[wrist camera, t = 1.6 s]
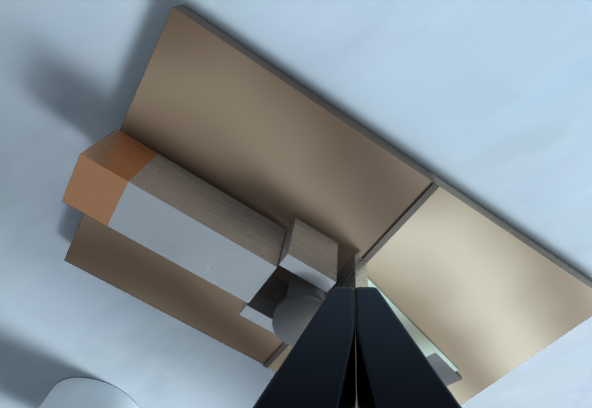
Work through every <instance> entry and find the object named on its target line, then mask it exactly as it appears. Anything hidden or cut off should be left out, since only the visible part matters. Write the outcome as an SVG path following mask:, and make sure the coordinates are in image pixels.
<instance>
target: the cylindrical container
mask: <svg viewBox="0 0 592 408" xmlns="http://www.w3.org/2000/svg"><path fill="white" fill-rule="evenodd" d="M39 408H139V407H138V406H137V404H136V403H135V402H134V401H133V400H132V399H131V398H130V397H129V396H128V395H127V394H125V393H124V392H123V391H121V390H119V389H118V388H116V387H114V386H112V385H110V384H108V383H105V382H102V381H99V380H94V379H90V378H69V379H65V380H62V381H61V382H59V383H57V384H56V385H55V386H54V387H53V388H52V390H51V391H50V393H49V394H48V395H47V397H46V398H45V400H44V401H43V402H42V404H41V405H40V407H39Z"/></svg>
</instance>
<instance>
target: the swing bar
mask: <svg viewBox="0 0 592 408" xmlns="http://www.w3.org/2000/svg"><path fill="white" fill-rule="evenodd" d="M62 201H63V202H65V203H66V204H68V205H70V206H72V207H74V208H75V209H77V210H79V211H81V212H83V213H85V214H86V215H88V216H90V217H92V218H94V219H96V220H97V221H99V222H101V223H103V224H105V225H106V226H108V227H110V228H112V229H114V230H116V231H117V232H119V233H121V234H123V235H125V236H127V237H128V238H130V239H132V240H134V241H136V242H137V243H139V244H141V245H143V246H145V247H147V248H148V249H150V250H152V251H154V252H156V253H157V254H159V255H161V256H163V257H165V258H167V259H168V260H170V261H172V262H174V263H176V264H178V265H179V266H181V267H183V268H185V269H187V270H188V271H190V272H192V273H194V274H196V275H198V276H199V277H201V278H203V279H205V280H207V281H209V282H210V283H212V284H214V285H216V286H218V287H219V288H221V289H223V290H225V291H227V292H229V293H230V294H232V295H234V296H236V297H238V298H239V299H241V300H243V305H242V308H241V311H240V314H239V315H241V316H243V317H245V318H246V319H248V320H250V321H252V322H254V323H256V324H258V325H259V326H261V327H263V328H265V329H267V330H269V331H271V332H272V333H274V334H275V332H274V330H273V327H272V320H273V315H274V311H275V308H276V306H277V305H278V304H279V303H280V302H281V301H282V300H283V299H285V298H286V297H287V292H288V287H289V283H288V282H287V281H285V280H283V279H281V278H280V277H278V276H276V275H274V274H273V272H274V271H275V269H276V268H277V266H278V262H279V258H280V254H281V249H282V245H283V241H284V237H285V233H286V230H285V229H284V228H282V227H280V226H279V225H277V224H275V223H274V222H272V221H270V220H269V219H267V218H265V217H264V216H262V215H260V214H259V213H257V212H255V211H254V210H252V209H250V208H249V207H247V206H245V205H244V204H242V203H240V202H238V201H237V200H235V199H233V198H232V197H230V196H228V195H227V194H225V193H223V192H222V191H220V190H218V189H217V188H215V187H213V186H212V185H210V184H208V183H207V182H205V181H203V180H202V179H200V178H198V177H197V176H195V175H193V174H192V173H190V172H188V171H187V170H185V169H183V168H182V167H180V166H178V165H177V164H175V163H173V162H171V161H170V160H168V159H166V158H165V157H163V156H161V155H160V154H158V153H156V152H155V151H153V150H151V149H150V148H148V147H146V146H145V145H143V144H141V143H140V142H138V141H136V140H135V139H133V138H131V137H130V136H128V135H126V134H125V133H123V132H121V131H120V130H118V129H117V130H115V131H114V132H112V133H111V134H109V135H108V136H106V137H105V138H103V139H102V140H100V141H99V142H97V143H96V144H94V145H93V146H91V147H90V148H88V149H87V150H85V151H84V152H82V153H81V154H80V156H79V159H78V161H77V164H76V166H75V169H74V171H73V174H72V177H71V179H70V182H69V184H68V187H67V190H66V192H65V195H64V197H63V200H62ZM337 252H338V243H337V242H335V241H333V240H332V239H330V238H329V237H327V236H325V235H324V234H322V233H320V232H319V231H317V230H315V229H314V228H312V227H310V226H309V225H307V224H305V223H304V222H302V221H300V220H299V219H297V218H295V219H294V221H293V222H292V223H291V224H290V226H289V227H288V229H287V234H286V238H285V242H284V246H283V250H282V255H281V259H280V263H279V265H280V266H282V267H283V268H285V269H287V270H289V271H290V272H292V273H294V274H296V275H297V276H299V277H301V278H302V279H304V280H306V281H308V282H309V283H311V284H313V285H315V286H316V287H318V288H320V289H322V290H323V291H325V292H327V295H328V293H329V292H330V290H331V289H332V288H333V287H352V288H354V291H355V289H356V288H357V287H368V275H367V261H366V260H365V259H363V258H362V257H360V256H358V255H357V254H354V255H353V256H352V257H351V258H350V259H349V260H348V262H347V263H346V264H345V265H344V266H343V267H342V268H341V269H340V270H339V271H338V272H337Z"/></svg>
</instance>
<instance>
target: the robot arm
mask: <svg viewBox="0 0 592 408" xmlns="http://www.w3.org/2000/svg"><path fill="white" fill-rule="evenodd" d="M355 335H356V341H355ZM356 387H357V408H462V407H461V406H460V404H459V403H458V402H457V400H456V399H455V397H454V396H453V395H452V393H451V392H450V390H449V389H448V388H447V386H446V385H445V383H444V382H443V380H442V379H441V378H440V376H439V375H438V373H437V372H436V371H435V369H434V368H433V366H432V365H431V363H430V362H429V361H428V359H427V358H426V356H425V355H424V354H423V352H422V351H421V349H420V348H419V346H418V345H417V344H416V342H415V341H414V339H413V338H412V337H411V335H410V334H409V332H408V331H407V330H406V328H405V327H404V325H403V324H402V322H401V321H400V320H399V318H398V317H397V315H396V314H395V313H394V311H393V310H392V308H391V307H390V305H389V304H388V303H387V301H386V300H385V298H384V297H383V296H382V294H381V293H380V291H379V290H378V289H377V288H376V287H357V288H356V289H355V291H354V288H352V287H333V288H332V289H331V290H330V292H329V293H328V295H327V296H326V298H325V299H324V301H323V302H322V304H321V305H320V307H319V309H318V310H317V312H316V313H315V315H314V316H313V318H312V319H311V321H310V322H309V324H308V325H307V327H306V328H305V330H304V331H303V333H302V334H301V336H300V337H299V339H298V340H297V342H296V343H295V345H294V346H293V348H292V349H291V351H290V352H289V354H288V355H287V357H286V358H285V360H284V361H283V363H282V364H281V366H280V367H279V369H278V370H277V372H276V373H275V375H274V376H273V378H272V380H271V381H270V383H269V384H268V386H267V387H266V389H265V390H264V392H263V393H262V395H261V396H260V398H259V399H258V401H257V402H256V404H255V405H254V407H253V408H356Z"/></svg>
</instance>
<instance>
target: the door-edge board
mask: <svg viewBox="0 0 592 408" xmlns="http://www.w3.org/2000/svg"><path fill="white" fill-rule="evenodd" d="M120 131H121V132H123V133H125V134H126V135H128V136H130V137H131V138H133V139H135V140H136V141H138V142H140V143H141V144H143V145H145V146H146V147H148V148H150V149H151V150H153V151H155V152H156V153H158V154H160V155H161V156H163V157H165V158H166V159H168V160H170V161H171V162H173V163H175V164H177V165H178V166H180V167H182V168H183V169H185V170H187V171H188V172H190V173H192V174H193V175H195V176H197V177H198V178H200V179H202V180H203V181H205V182H207V183H208V184H210V185H212V186H213V187H215V188H217V189H218V190H220V191H222V192H223V193H225V194H227V195H228V196H230V197H232V198H233V199H235V200H237V201H238V202H240V203H242V204H244V205H245V206H247V207H249V208H250V209H252V210H254V211H255V212H257V213H259V214H260V215H262V216H264V217H265V218H267V219H269V220H270V221H272V222H274V223H275V224H277V225H279V226H280V227H282V228H284V229H285V230H286V233H285V237H284V241H283V245H282V249H281V254H280V258H279V262H278V266H277V268H276V269H275V271H274V272H273V274H274V275H276V276H278V277H280V278H281V279H283V280H285V281H287V282H288V283H289V287H288V292H287V297H286V298H285V299H283V300H282V301H281V302H280V303H279V304H278V305H277V306H276V308H275V311H274V315H273V320H272V327H273V330H274V332H275V334H274V333H272V332H271V331H269V330H267V329H265V328H263V327H261V326H259V325H258V324H256V323H254V322H252V321H250V320H248V319H246V318H245V317H243V316H241V315H239V314H240V311H241V308H242V305H243V300H241V299H239V298H238V297H236V296H234V295H232V294H230V293H229V292H227V291H225V290H223V289H221V288H219V287H218V286H216V285H214V284H212V283H210V282H209V281H207V280H205V279H203V278H201V277H199V276H198V275H196V274H194V273H192V272H190V271H188V270H187V269H185V268H183V267H181V266H179V265H178V264H176V263H174V262H172V261H170V260H168V259H167V258H165V257H163V256H161V255H159V254H157V253H156V252H154V251H152V250H150V249H148V248H147V247H145V246H143V245H141V244H139V243H137V242H136V241H134V240H132V239H130V238H128V237H127V236H125V235H123V234H121V233H119V232H117V231H116V230H114V229H112V228H110V227H108V226H106V225H105V224H103V223H101V222H99V221H97V220H96V219H94V218H92V217H90V216H88V215H86V214H85V213H84V215H83V217H82V220H81V222H80V224H79V227H78V229H77V231H76V234H75V236H74V238H73V241H72V243H71V245H70V248H69V250H68V252H67V255H66V257H65V259H64V260H65V261H67V262H69V263H70V264H72V265H74V266H76V267H78V268H80V269H82V270H84V271H86V272H88V273H90V274H92V275H93V276H95V277H97V278H99V279H101V280H103V281H105V282H107V283H109V284H111V285H113V286H115V287H116V288H118V289H120V290H122V291H124V292H126V293H128V294H130V295H132V296H134V297H136V298H137V299H139V300H141V301H143V302H145V303H147V304H149V305H151V306H153V307H155V308H157V309H159V310H160V311H162V312H164V313H166V314H168V315H170V316H172V317H174V318H176V319H178V320H180V321H182V322H183V323H185V324H187V325H189V326H191V327H193V328H195V329H197V330H199V331H201V332H203V333H205V334H206V335H208V336H210V337H212V338H214V339H216V340H218V341H220V342H222V343H224V344H226V345H227V346H229V347H231V348H233V349H235V350H237V351H239V352H241V353H243V354H245V355H247V356H249V357H250V358H252V359H254V360H256V361H258V362H260V363H262V364H263V366H265V367H267V368H268V367H270V368H272V369H273V370H275V371H277V370H278V369H279V367H280V366H281V364H282V363H283V361H284V360H285V358H286V357H287V355H288V354H289V352H290V351H291V349H292V348H293V346H294V345H295V343H296V342H297V340H298V339H299V337H300V336H301V334H302V333H303V331H304V330H305V328H306V327H307V325H308V324H309V322H310V321H311V319H312V318H313V316H314V315H315V313H316V312H317V310H318V309H319V307H320V305H321V304H322V302H323V301H324V299H325V298H326V296H327V292H325V291H323V290H322V289H320V288H318V287H316V286H315V285H313V284H311V283H309V282H308V281H306V280H304V279H302V278H301V277H299V276H297V275H296V274H294V273H292V272H290V271H289V270H287V269H285V268H283V267H282V266H280V265H279V263H280V259H281V255H282V250H283V246H284V242H285V238H286V234H287V229H288V227H289V226H290V224H291V223H292V222H293V221H294V219H295V218H297V219H299V220H300V221H302V222H304V223H305V224H307V225H309V226H310V227H312V228H314V229H315V230H317V231H319V232H320V233H322V234H324V235H325V236H327V237H329V238H330V239H332V240H333V241H335V242H337V243H338V252H337V272H338V271H339V270H340V269H341V268H342V267H343V266H344V265H345V264H346V263H347V262H348V260H349V259H350V258H351V257H352V256H353V255H354V254H357V255H358V256H360V257H362V258H363V259H365V260H366V261H367V275H368V287H376V288H377V289H378V290H379V291H380V293H381V294H382V296H383V297H384V298H385V300H386V301H387V303H388V304H389V305H390V307H391V308H392V310H393V311H394V313H395V314H396V315H397V317H398V318H399V320H400V321H401V322H402V324H403V325H404V327H405V328H406V330H407V331H408V332H409V334H410V335H411V337H412V338H413V339H414V341H415V342H416V344H417V345H418V346H419V348H420V349H421V351H422V352H423V354H424V355H425V356H426V358H427V359H428V361H429V362H430V363H431V365H432V366H433V368H434V369H435V371H436V372H437V373H438V375H439V376H440V378H441V379H442V380H443V382H444V383H445V385H446V386H447V388H448V389H449V390H450V392H451V393H452V395H453V396H454V397H455V399H456V400H457V402H458V403H459V404H460V405H462V404H463V403H465V402H466V401H468V400H469V399H471V398H472V397H473V396H475V395H476V394H478V393H479V392H481V391H482V390H484V389H485V388H487V387H488V386H490V385H491V384H493V383H494V382H495V381H497V380H498V379H500V378H501V377H503V376H504V375H506V374H507V373H509V372H510V371H512V370H513V369H515V368H516V367H517V366H519V365H520V364H522V363H523V362H525V361H526V360H528V359H529V358H531V357H532V356H534V355H535V354H537V353H538V352H539V351H541V350H542V349H544V348H545V347H547V346H548V345H550V344H551V343H553V342H554V341H556V340H557V339H559V338H560V337H561V336H563V335H564V334H566V333H567V332H569V331H570V330H572V329H573V328H575V327H576V326H578V325H579V324H581V323H582V322H583V321H585V320H586V319H588V318H589V317H591V316H592V281H591V280H589V279H588V278H586V277H585V276H583V275H582V274H580V273H579V272H577V271H576V270H574V269H573V268H571V267H570V266H569V265H567V264H566V263H564V262H563V261H561V260H560V259H558V258H557V257H555V256H554V255H552V254H551V253H549V252H548V251H546V250H545V249H543V248H542V247H540V246H539V245H537V244H536V243H535V242H533V241H532V240H530V239H529V238H527V237H526V236H524V235H523V234H521V233H520V232H518V231H517V230H515V229H514V228H512V227H511V226H509V225H508V224H506V223H505V222H503V221H502V220H501V219H499V218H498V217H496V216H495V215H493V214H492V213H490V212H489V211H487V210H486V209H484V208H483V207H481V206H480V205H478V204H477V203H475V202H474V201H472V200H471V199H469V198H468V197H467V196H465V195H464V194H462V193H461V192H459V191H458V190H456V189H455V188H453V187H452V186H450V185H449V184H447V183H446V182H444V181H443V180H441V179H440V178H438V177H437V176H435V175H434V174H433V173H431V172H430V171H428V170H427V169H425V168H424V167H422V166H421V165H419V164H418V163H416V162H415V161H413V160H412V159H410V158H409V157H407V156H406V155H404V154H403V153H401V152H400V151H399V150H397V149H396V148H394V147H393V146H391V145H390V144H388V143H387V142H385V141H384V140H382V139H381V138H379V137H378V136H376V135H375V134H373V133H372V132H370V131H369V130H367V129H366V128H365V127H363V126H362V125H360V124H359V123H357V122H356V121H354V120H353V119H351V118H350V117H348V116H347V115H345V114H344V113H342V112H341V111H339V110H338V109H336V108H335V107H333V106H332V105H331V104H329V103H328V102H326V101H325V100H323V99H322V98H320V97H319V96H317V95H316V94H314V93H313V92H311V91H310V90H308V89H307V88H305V87H304V86H302V85H301V84H299V83H298V82H297V81H295V80H294V79H292V78H291V77H289V76H288V75H286V74H285V73H283V72H282V71H280V70H279V69H277V68H276V67H274V66H273V65H271V64H270V63H268V62H267V61H265V60H264V59H263V58H261V57H260V56H258V55H257V54H255V53H254V52H252V51H251V50H249V49H248V48H246V47H245V46H243V45H242V44H240V43H239V42H237V41H236V40H234V39H233V38H232V37H230V36H229V35H227V34H226V33H224V32H223V31H221V30H220V29H218V28H217V27H215V26H214V25H212V24H211V23H209V22H208V21H206V20H205V19H203V18H202V17H200V16H199V15H198V14H196V13H195V12H193V11H192V10H190V9H189V8H187V7H186V6H184V5H181V6H175V7H172V10H171V12H170V14H169V17H168V19H167V21H166V24H165V26H164V28H163V31H162V33H161V35H160V38H159V40H158V42H157V45H156V47H155V49H154V52H153V54H152V56H151V59H150V61H149V63H148V66H147V68H146V70H145V73H144V75H143V77H142V80H141V82H140V84H139V87H138V89H137V91H136V94H135V96H134V98H133V101H132V103H131V105H130V108H129V110H128V112H127V115H126V117H125V119H124V122H123V124H122V126H121V129H120ZM355 341H356V335H355ZM356 408H357V387H356Z"/></svg>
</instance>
